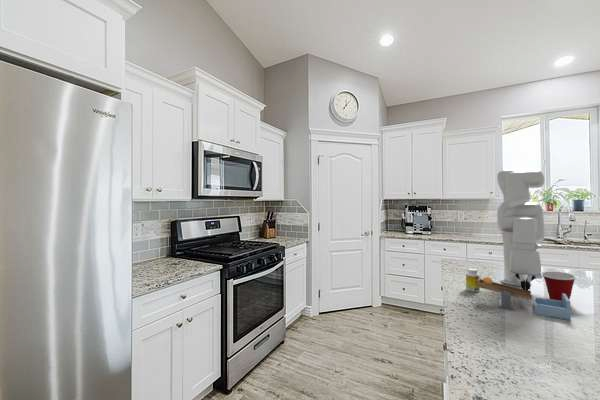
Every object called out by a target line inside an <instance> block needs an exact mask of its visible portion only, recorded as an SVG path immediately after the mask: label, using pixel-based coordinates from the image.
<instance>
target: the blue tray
mask: <svg viewBox="0 0 600 400" xmlns="http://www.w3.org/2000/svg"><path fill="white" fill-rule="evenodd" d="M534 298H535V299H534ZM534 298H532V305H531V306H533V307H532V310H534V311H533V314H534V315H535V314H536V316H542V317H548V318H553V319H559V320H564V321H568V322H571V320H572V319H571V299H570V300H569V299H568V297H567V295H566V294H563V293H562V301H559V300H552V299H550V298H543V297H538V296H535V297H534Z"/></svg>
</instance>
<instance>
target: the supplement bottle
mask: <svg viewBox="0 0 600 400" xmlns="http://www.w3.org/2000/svg"><path fill="white" fill-rule="evenodd" d="M479 277H480V274H479V272H478V269H476V268H468V269H467V272H466V273H465V283H466V284H465V286H466V290H467V291H469V292H473V293H475V292H476V293H478V292H480V291H481V288H480V287H477V283H478V278H479Z"/></svg>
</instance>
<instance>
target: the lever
mask: <svg viewBox="0 0 600 400" xmlns="http://www.w3.org/2000/svg"><path fill="white" fill-rule="evenodd" d="M507 285H508V284H503V283H498V282H494V281H492V284H491V285H489V284H485V283H483V278H482V277H481V276H479V278H478V283H477V287H480V289H484V290H488V291H491V292H494V293H495V292H496V293H500V294H501V290H505V291H511V297H515V298H520V299H524V300H527V301H532V300H533V294H532V290H531V289H528V290H526V288H525V290H524V289H523V288H521V287H520V288H519V287H517V286H516V287H515V286H512V285H508V286H507Z"/></svg>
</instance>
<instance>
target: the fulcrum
mask: <svg viewBox="0 0 600 400" xmlns="http://www.w3.org/2000/svg"><path fill="white" fill-rule="evenodd" d="M506 285H507V286H509V284H506ZM500 295H501V298H498V309H501V310H507V311H512V310H513V311H515V303H514V300H512V296H511V291H505V290H501V293H500Z"/></svg>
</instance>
